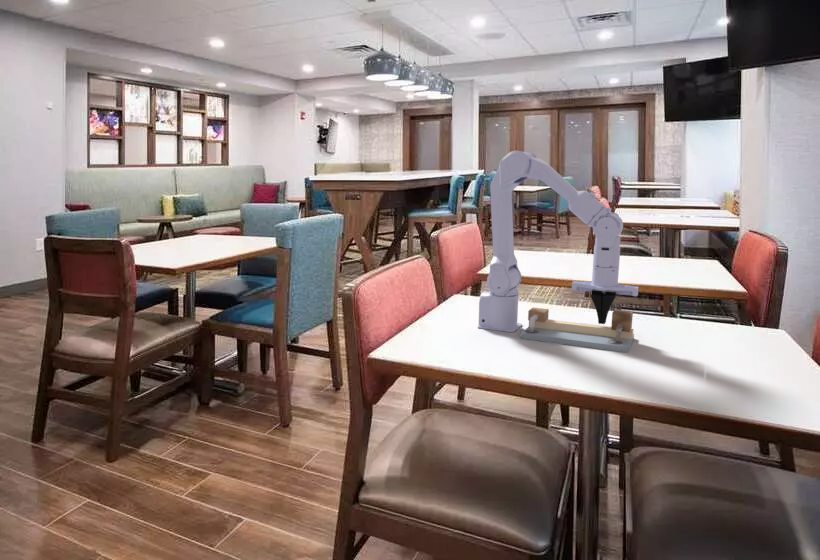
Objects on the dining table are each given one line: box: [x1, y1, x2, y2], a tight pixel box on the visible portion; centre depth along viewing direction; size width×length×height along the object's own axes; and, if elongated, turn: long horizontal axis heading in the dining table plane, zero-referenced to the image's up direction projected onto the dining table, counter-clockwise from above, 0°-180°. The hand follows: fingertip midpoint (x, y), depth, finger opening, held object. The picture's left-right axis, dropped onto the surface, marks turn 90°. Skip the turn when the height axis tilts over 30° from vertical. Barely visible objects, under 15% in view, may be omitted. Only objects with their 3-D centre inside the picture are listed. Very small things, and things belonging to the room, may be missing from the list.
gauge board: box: [520, 307, 635, 353], centre depth 135 cm, size 24×12×5 cm, turn 63°
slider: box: [611, 309, 634, 342], centre depth 131 cm, size 4×8×6 cm, turn 153°
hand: (602, 322), depth 134 cm, fingers closed
